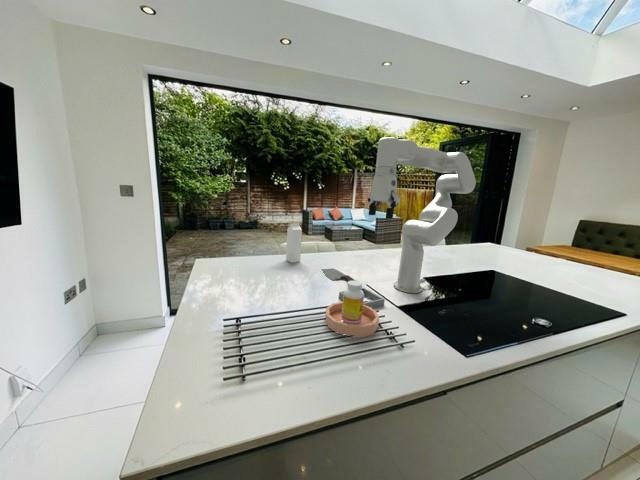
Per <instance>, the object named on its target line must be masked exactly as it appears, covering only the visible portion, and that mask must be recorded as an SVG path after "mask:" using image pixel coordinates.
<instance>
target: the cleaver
mask: <svg viewBox="0 0 640 480" xmlns="http://www.w3.org/2000/svg"><path fill="white" fill-rule="evenodd" d="M321 270H322V271H323V273H324V274H325V275H324V274H323V273H322V274H323V275H324V276H325V277H326V278H328V279H330V280H331V281H345V282H347V283H348V281H356V280H355V279H354V278H353V277H351V276H350V275H347V274H344V273H343V272H342V271H340V270H338V269H336V268H322V269H321Z"/></svg>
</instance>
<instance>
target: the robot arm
mask: <svg viewBox="0 0 640 480" xmlns="http://www.w3.org/2000/svg"><path fill="white" fill-rule="evenodd" d="M397 165H403V166H407V167H408V166H409V167H413V168H417V169H418V168H419V169H425V170H427V171H428V170H429V171H432V172H437V173H442V174H443V175H440V176H439V177H438V178H437V180H436V182H435V183H436V184H435V196H434V198H433V199H432V201H430V202H429V203H428V205H426V206H425V207H424V208H423V209H422V210H421V212H420V213H419V214H418V215H419V216H418V220H417V219H409V220H406V222H404V223H403V225H402V228H401V238H402V243H401V244H402V245H401V254H400V259H399V266H398V274H397V275H398V276H397V280H396V281H395V282H394V283H393V287H394V288H395V289H396V290H397V291H400V292H404V293H408V294H409V293H410V294H419V293H421V292H422V291H423V287H422V286H421V284H425V283H426V279H425V278H421V275H422V269H423V268H422V267H423V261H424V255H425V253H424V251H425V250H424V246H423V245H425V246H429V247H435V246H437V245H439V244H440V243H441V242H442V241H443V240H444V239H445V238H446V237H447V236H448V235H449V234H450V232H452V231H453V229H454V228H455V226H456V225H457V222H458V219H459V218H458V217H459V216H458V212H457V211H456V210H455V209H454V208H452V205H453V202H452V198H451V195H450V194H465V195H467V194H470V193H472V192H473V191H474V190H475V187H476V183H477V182H476V181H477V180H476V176H475V174H474V170H473V167H472V164H471V162H470V159H469V157H468V156H467V154H466V153H464V152H462V151H456V152H455V151H454V152H445V151H441V150H439V149H435V148H433V147H430V146H429V147H428V146H419V145H418V143H416V141H414V140H413V139H412V140H411V139H398V138H397V137H390V136H389V137H386V136H385V137H381V138H380V139H379V140H378V144H377V153H376V163H375V174H374V176H373V179H372V184H371V190H370V191H369V192H368V193H366V198H367V202H368V205H369V208H368V216H376V214H377V204H378V203H379V202H380V203H385V204H386V205H387V207H386V212H385V219H386V220H389V219H391V220H392V219H394V211H395V209H396V208H397V206H398V204H399V202H400V200H401V196H400V195H399V194H398V177H397V176H396V174H397V172H398V170H397ZM445 173H446V174H445Z"/></svg>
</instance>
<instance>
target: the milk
mask: <svg viewBox="0 0 640 480" xmlns="http://www.w3.org/2000/svg"><path fill="white" fill-rule="evenodd" d="M286 231H287V232H286V248H285V249H286V252H285V261H287V262H289V263H291V264H293V263H299V261H300V262H301V254H302V253H301V252H302V237H303V236H302V235H303V234H302V233H303V229H302V228H301V226H300V223H299V222H294V223H293V222H292V223H290V225H289V226H288V227H287V230H286Z"/></svg>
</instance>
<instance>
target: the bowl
mask: <svg viewBox="0 0 640 480" xmlns="http://www.w3.org/2000/svg"><path fill="white" fill-rule="evenodd" d="M342 306H343V301H338V302H335V303H330V305H329V306H328V307H326V308H325V317H324V319H325V318H326V321H325V325H326V324H327V325H328V326H329V327H330V328H331V329H332V330H333V331H335V332H338V333H341V334H346V335H355V337H354V338H365V337H369V336H372V335H374V334H375V333H376V331H377V330H378V328H379V322H380V317H379V315H378V312H377V311H376V310H375V309H374V308H370V307H369V306H366V305H363V310H362V319H361V321H360V322H359V323H356V324H351V323H347V322H345V321H343V319H342ZM327 325H326V326H327ZM328 326H327V327H328ZM329 327H328V328H329ZM330 328H329V329H330ZM331 329H330V330H331ZM332 330H331V331H332ZM333 331H332V332H333ZM335 332H334V333H335ZM374 332H375V333H374ZM338 333H337V334H338ZM341 334H340V335H341Z"/></svg>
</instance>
